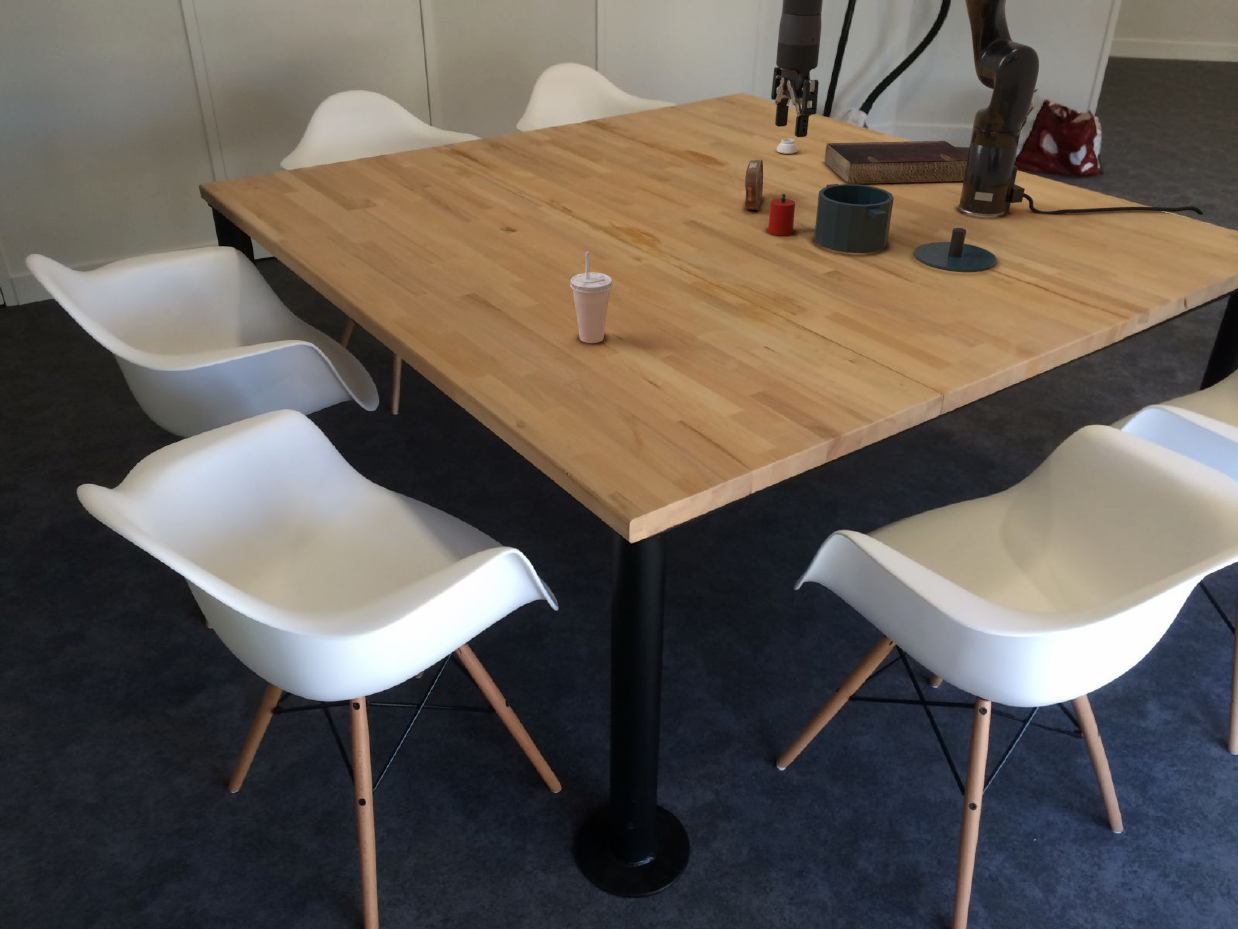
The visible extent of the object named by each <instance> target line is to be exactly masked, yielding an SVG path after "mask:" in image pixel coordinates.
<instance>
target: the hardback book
mask: <svg viewBox="0 0 1238 929" xmlns="http://www.w3.org/2000/svg"><path fill="white" fill-rule="evenodd" d="M967 159H968V154H967V153H966V152H964V151H963V150H961V149H959V148H957V147H956V146H954V145H953V144H951V143H950V142H948V141H947V140H919V141H916V140H915V141H914V140H912V141H911V140H910V141H875V142H874V141H873V142H872V141H871V142H869V141H867V142H828V143H826V145H825V152H824V164H825V165H826V166H827V167H828V168H829V169H831V170H832V171H833V172H834V173H835V174H836V175H837V176H839V178H840V179H842V180H843V181H844V182H845V184H889V183H890V184H891V183H892V184H893V183H931V182H933V183H934V182H963V181H964V176H965V170H966V164H967Z"/></svg>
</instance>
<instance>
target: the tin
mask: <svg viewBox="0 0 1238 929" xmlns="http://www.w3.org/2000/svg"><path fill="white" fill-rule="evenodd" d="M744 188H745V200H744V207H745V209H746V210H748V211H759V209H760V206H761V202H762V199H763V189H764V162H763V159H753V160H749V163H748V165H747V167H746V171H745V178H744Z"/></svg>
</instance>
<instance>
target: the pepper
mask: <svg viewBox="0 0 1238 929" xmlns="http://www.w3.org/2000/svg"><path fill="white" fill-rule="evenodd" d="M786 197H787V195H786V193H781V197H780V198H773V199H771V200H770V202H769V203H770V204H769V215H768V216H769V217H768V228H767V232H768V233H769V234H770V235H774V236H779V237H781V236H782V237H783V236H784V237H785V236H786V237H787V236H791V235H792V234H793V232H794V222H795V211H796V201H795V200H793V199H790V198H786Z"/></svg>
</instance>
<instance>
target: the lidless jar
mask: <svg viewBox="0 0 1238 929" xmlns="http://www.w3.org/2000/svg"><path fill="white" fill-rule="evenodd" d="M776 152H778V153H780V154H783V155H792V154H796V153H798V146H797V145H796V143H795V139H794V138H781V141H780V142H778V145H777V147H776Z"/></svg>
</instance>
